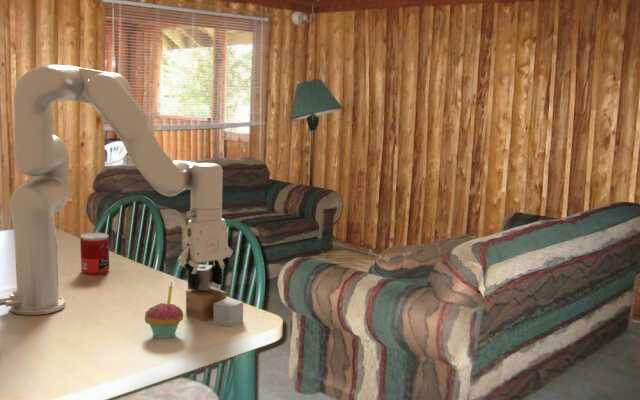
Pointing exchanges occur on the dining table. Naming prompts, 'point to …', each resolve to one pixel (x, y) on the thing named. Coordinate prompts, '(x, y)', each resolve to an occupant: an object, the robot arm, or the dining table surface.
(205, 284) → the dice cube
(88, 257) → the canned food
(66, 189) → the robot arm
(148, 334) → the dining table surface
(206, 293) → the walnut block
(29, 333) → the dining table surface
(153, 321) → the cupcake
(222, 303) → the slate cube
